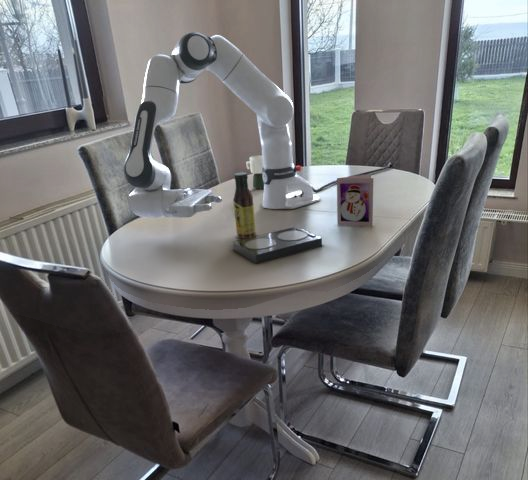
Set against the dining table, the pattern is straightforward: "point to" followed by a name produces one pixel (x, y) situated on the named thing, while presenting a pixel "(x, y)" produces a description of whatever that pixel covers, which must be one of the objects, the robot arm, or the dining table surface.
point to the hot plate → (277, 244)
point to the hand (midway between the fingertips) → (215, 203)
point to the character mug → (256, 170)
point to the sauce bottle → (243, 207)
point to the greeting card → (355, 200)
